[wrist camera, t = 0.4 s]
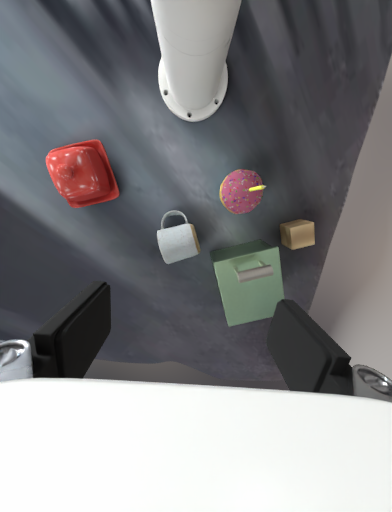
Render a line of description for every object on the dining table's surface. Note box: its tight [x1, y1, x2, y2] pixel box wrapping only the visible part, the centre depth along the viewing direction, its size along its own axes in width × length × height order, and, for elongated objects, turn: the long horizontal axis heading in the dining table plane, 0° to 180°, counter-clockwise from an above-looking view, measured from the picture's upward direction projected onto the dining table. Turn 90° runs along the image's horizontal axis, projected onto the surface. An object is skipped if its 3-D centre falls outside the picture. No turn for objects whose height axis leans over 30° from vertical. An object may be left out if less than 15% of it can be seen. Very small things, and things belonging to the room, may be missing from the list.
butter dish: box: [46, 140, 119, 208], centre depth 35 cm, size 12×12×8 cm
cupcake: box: [219, 169, 267, 214], centre depth 35 cm, size 9×8×12 cm
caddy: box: [210, 239, 271, 319], centre depth 43 cm, size 15×13×9 cm
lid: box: [213, 246, 284, 326], centre depth 36 cm, size 16×13×6 cm
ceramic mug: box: [157, 211, 200, 264], centre depth 40 cm, size 11×8×8 cm
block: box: [280, 219, 315, 250], centre depth 42 cm, size 5×5×5 cm
